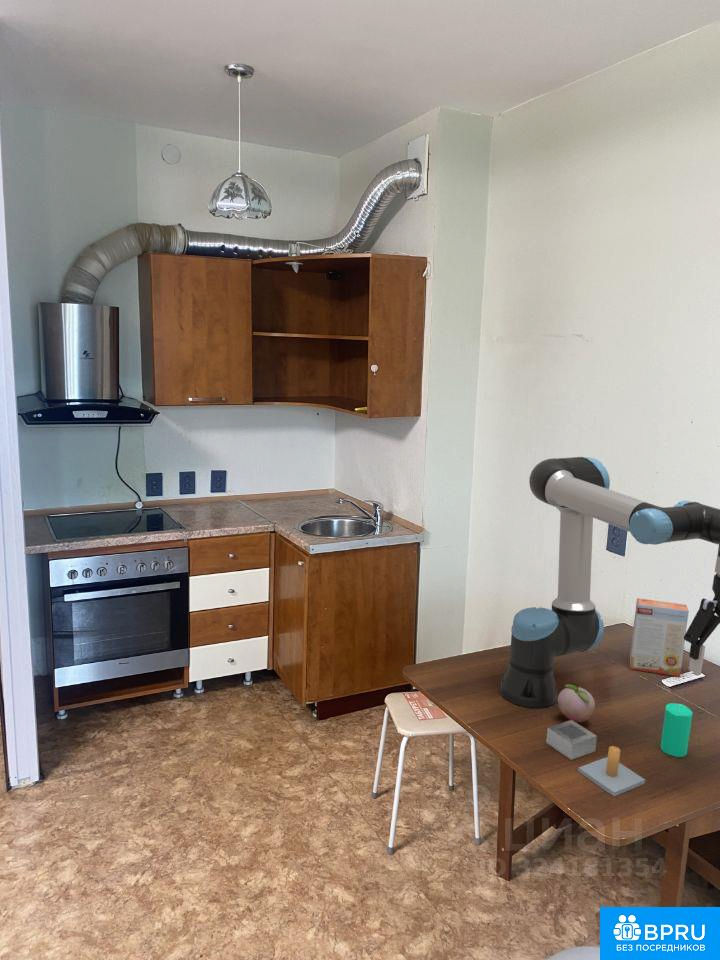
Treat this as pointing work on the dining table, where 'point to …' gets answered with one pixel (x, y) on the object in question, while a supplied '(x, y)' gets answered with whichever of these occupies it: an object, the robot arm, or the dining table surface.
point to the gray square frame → (571, 739)
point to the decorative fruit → (576, 703)
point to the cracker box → (658, 637)
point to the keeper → (611, 774)
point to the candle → (676, 729)
